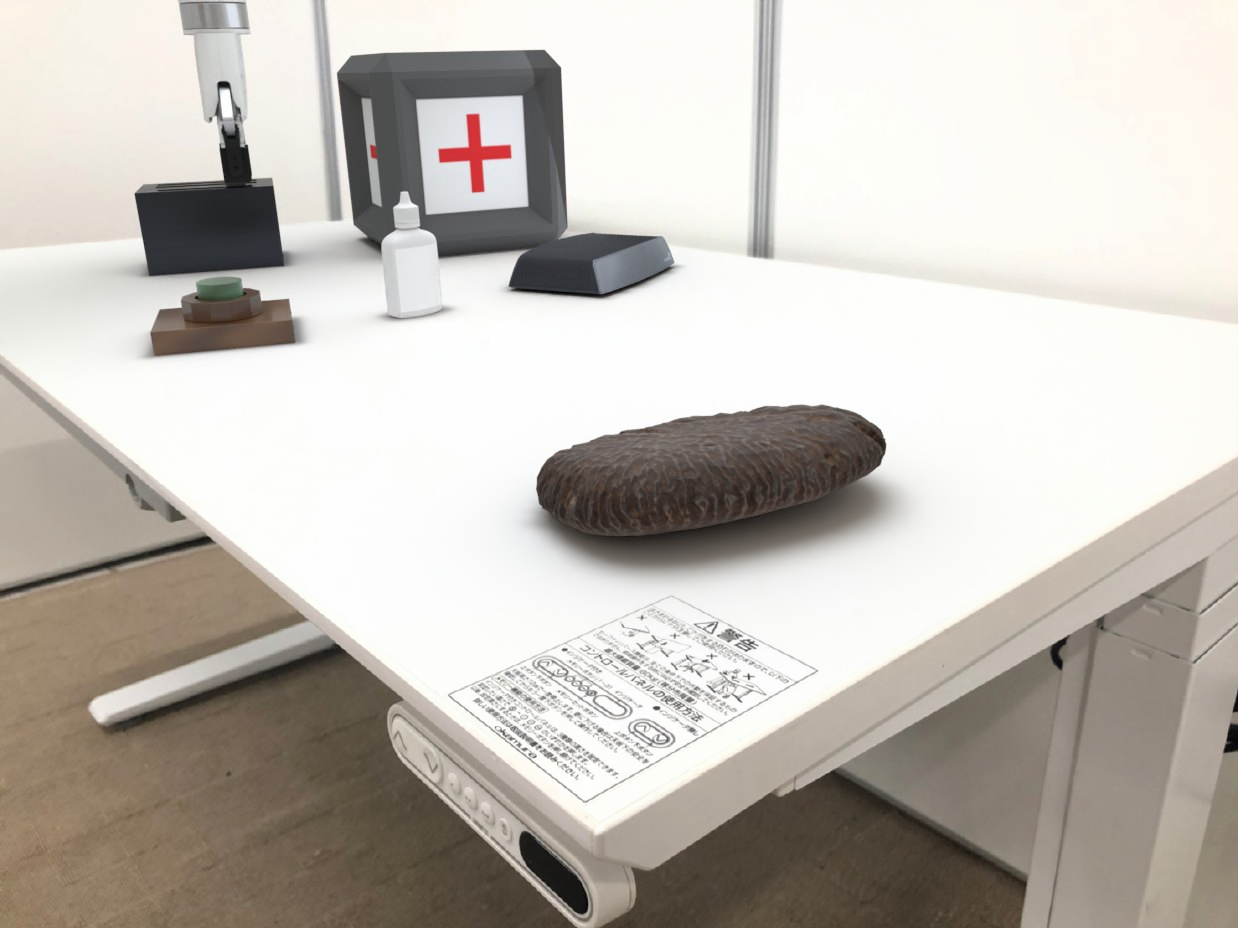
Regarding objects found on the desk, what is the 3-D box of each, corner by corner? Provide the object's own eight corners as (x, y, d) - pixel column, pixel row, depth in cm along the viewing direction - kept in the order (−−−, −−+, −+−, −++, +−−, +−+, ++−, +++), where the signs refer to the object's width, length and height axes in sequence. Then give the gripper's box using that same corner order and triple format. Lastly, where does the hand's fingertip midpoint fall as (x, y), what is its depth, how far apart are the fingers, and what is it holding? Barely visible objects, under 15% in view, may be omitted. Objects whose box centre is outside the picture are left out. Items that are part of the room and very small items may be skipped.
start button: (197, 305, 96) (194, 286, 95) (199, 297, 99) (196, 278, 99) (244, 301, 97) (241, 282, 96) (244, 293, 100) (241, 275, 100)
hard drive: (680, 267, 127) (680, 233, 126) (607, 299, 111) (606, 260, 110) (585, 261, 133) (584, 228, 131) (502, 290, 117) (499, 253, 115)
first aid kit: (352, 238, 155) (331, 56, 146) (512, 224, 165) (502, 52, 156) (392, 263, 134) (371, 52, 125) (574, 246, 144) (566, 49, 135)
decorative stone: (756, 435, 70) (758, 361, 68) (925, 501, 59) (933, 416, 57) (497, 505, 60) (491, 421, 58) (643, 601, 49) (641, 501, 47)
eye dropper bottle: (446, 315, 106) (436, 192, 101) (389, 320, 104) (376, 196, 100) (440, 306, 110) (430, 188, 105) (385, 311, 108) (372, 191, 104)
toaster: (149, 276, 130) (133, 192, 126) (156, 262, 140) (142, 183, 136) (284, 266, 134) (273, 184, 131) (282, 253, 144) (272, 176, 141)
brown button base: (154, 356, 93) (146, 312, 92) (163, 331, 102) (155, 290, 101) (295, 343, 96) (289, 300, 95) (292, 320, 105) (286, 280, 104)
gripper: (185, 24, 131) (209, 175, 138) (176, 18, 116) (203, 188, 122) (249, 24, 133) (269, 172, 140) (248, 17, 118) (271, 185, 124)
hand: (238, 178), depth 131 cm, fingers open, 5 cm apart
